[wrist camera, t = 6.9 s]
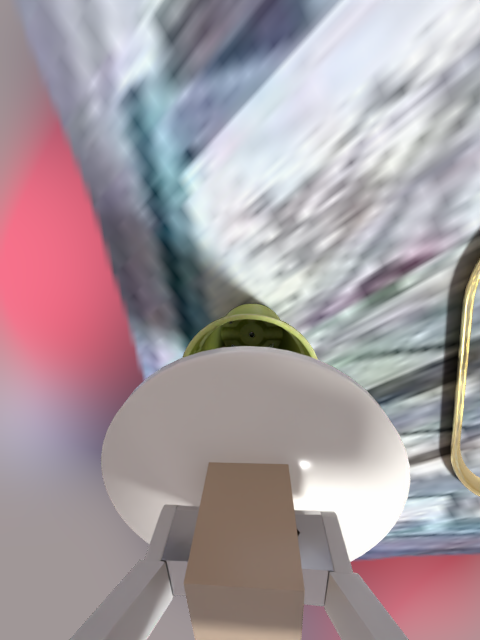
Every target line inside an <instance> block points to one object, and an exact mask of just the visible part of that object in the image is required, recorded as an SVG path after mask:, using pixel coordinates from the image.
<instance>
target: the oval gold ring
mask: <svg viewBox="0 0 480 640" xmlns="http://www.w3.org/2000/svg"><path fill="white" fill-rule="evenodd" d="M479 280H480V258H479V260H478V261H477V263H476V265H475V267H474V269H473V271H472V273H471V275H470V278H469V280H468V283H467V286H466V289H465V293H464V297H463V303H462V314H461V326H460V338H459V350H458V363H457V375H456V387H455V399H454V412H453V424H452V436H451V448H450V456H451V463H452V467H453V470H454V472H455V474H456V476H457V477H458V479H459V480H460V482H461V483H462V484H463V485H464V486H465V487H466V488H467V489H469V490H470V491H471V492H473V493H474V494H476V495H478V496H480V478H479V477H477V476H476V475H474V474H473V473H472V472H471V471H470V470H469V469H468V468H467V467H466V465H465V464H464V462H463V459H462V457H461V453H460V438H461V427H462V417H463V407H464V396H465V386H466V376H467V365H468V355H469V345H470V334H471V324H472V314H473V303H474V297H475V292H476V289H477V285H478V283H479ZM456 461H457V462H456Z"/></svg>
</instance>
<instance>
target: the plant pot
mask: <svg viewBox="0 0 480 640" xmlns="http://www.w3.org/2000/svg"><path fill="white" fill-rule="evenodd" d="M230 321H233V323H231V324H230V323H229V322H230ZM251 332H253V333H254V337H250V335H249V334H250V333H251ZM272 343H274V345H273V347H272V348H276V349H282V350H288V351H292V352H295V353H299V354H302V355H306V356H309V357H312V358H314V359H317V356H316V354H315V352H314V350H313V348H312V347H311V345H310V344H309V342H308V341H307V340H306V339H305V337H304V336H303V335H302V334H301V333H300V332H298V331H297V330H296V329H295V328H293V327H292V326H290V325H289V324H287V323H285V322H283V321H281V320H280V319H279V317H278V316H277V315H276V313H275V312H273V311H272V310H271V309H269V308H268V307H266V306H263V305H260V304H244V305H240V306H238V307H236V308H234V309H233V310H231V311H230V312H229V313H228V314H227V315H226V316H225V317H223V318H220V319H218V320H216V321H214V322H212V323H210V324H209V325H207V326H206V327H204V328H203V329H202V330H201V331H199V332H198V333H197V334H196V336H195V337H194V338H193V339H192V340H191V342H190V343H189V345H188V346H187V348H186V350H185V352H184V355H183V357H186V356H189V355H193V354H196V353H199V352H202V351H207V350H212V349H217V348H223V347H232V346H231V345H232V344H233V345H234V346H235V347H237V346H255V347H269V346H270V345H272ZM183 357H182V358H183ZM317 360H318V359H317Z"/></svg>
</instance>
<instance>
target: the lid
mask: <svg viewBox="0 0 480 640" xmlns="http://www.w3.org/2000/svg"><path fill="white" fill-rule="evenodd" d="M101 464H102V475H103V479H104V484H105V487H106V490H107V492H108V495H109V497H110V500H111V502H112V503H113V505H114V507H115V508H116V510H117V512H118V513H119V515H120V516H121V517H122V518H123V520H124V521H125V522H126V523H127V525H129V527H130V528H131V529H132V530H133V531H134V532H135V533H136V534H137V535H138V536H140V537H141V538H142V539H144V540H145V541H146V542H147V543H148V544H150V541H151V538H152V535H153V533H154V530H155V527H156V524H157V521H158V518H159V515H160V512H161V510H162V508H163V506H164V505H165V504H168V505H185V506H200V507H199V512H198V517H197V521H196V526H195V531H194V536H193V541H192V545H191V550H190V555H189V560H188V564H187V569H186V574H185V579H184V588H185V593H186V598H187V603H188V608H189V612H190V617H191V622H192V627H193V632H194V636H195V640H301V635H302V620H303V607H304V595H305V589H304V581H303V574H302V566H301V558H300V550H299V543H298V535H297V527H296V519H295V512H294V510H314V511H334V512H335V513H336V515H337V517H338V520H339V524H340V528H341V531H342V535H343V538H344V542H345V546H346V549H347V553H348V556H349V560H350V562H351V561H352V560H354V559H356V558H358V557H360V556H361V555H363V554H364V553H366V552H367V551H369V550H370V549H371V548H373V547H374V546H375V545H376V544H377V543H379V542H380V541H381V540H382V539H383V538H384V537H385V536H386V535H387V534H388V532H389V531H390V530H391V529H392V527H393V526H394V525H395V524H396V522H397V520H398V518H399V517H400V515H401V513H402V511H403V509H404V506H405V503H406V500H407V498H408V492H409V486H410V465H409V461H408V457H407V452H406V449H405V447H404V444H403V442H402V440H401V438H400V435H399V433H398V432H397V430H396V429H395V427H394V426H393V424H392V423H391V421H390V420H389V418H388V417H387V415H386V414H385V412H384V411H383V410H382V408H381V407H380V405H379V404H378V402H377V401H376V400H375V399H374V398H373V397H372V396H371V395H370V394H369V393H368V392H367V391H366V389H364V388H363V387H362V386H361V385H359V384H358V383H357V382H356V381H354V380H353V379H352V378H351V377H349V376H348V375H346V374H344V373H343V372H341V371H339V370H338V369H336V368H334V367H333V366H331V365H328V364H326V363H324V362H321V361H319V360H317V359H314V358H312V357H309V356H306V355H302V354H299V353H295V352H292V351H288V350H282V349H276V348H270V347H255V346H237V347H223V348H217V349H212V350H207V351H202V352H199V353H196V354H193V355H189V356H186V357H183V358H181V359H179V360H177V361H174V362H172V363H170V364H168V365H166V366H164V367H163V368H161V369H160V370H158V371H157V372H155V373H154V374H152V375H151V376H149V377H148V378H147V379H146V380H145V381H144V382H142V383H141V384H140V385H139V386H138V387H137V388H136V389H135V390H134V392H133V393H132V394H131V395H130V397H129V398H128V399H127V401H126V402H125V403H124V405H123V406H122V407H121V408H120V410H119V411H118V412H117V414H116V415H115V417H114V418H113V420H112V422H111V424H110V426H109V428H108V430H107V433H106V436H105V439H104V442H103V448H102V456H101Z"/></svg>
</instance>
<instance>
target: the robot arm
mask: <svg viewBox="0 0 480 640" xmlns="http://www.w3.org/2000/svg"><path fill="white" fill-rule="evenodd" d="M199 507H200V506H185V505H168V504H165V505H164V506H163V508H162V510H161V512H160V515H159V518H158V521H157V524H156V527H155V530H154V533H153V535H152V538H151V541H150V544H149V547H148V550H147V553H146V556H145V559H144V560H139V561H138V563H137V564H136V565H135V566H134V567H133V568H132V569H131V570H130V572H129V573H128V574H127V575H126V576H125V577H124V578H123V579H122V581H121V582H120V583H119V584H118V585H117V586H116V587H115V589H114V590H113V591H112V592H111V593H110V594H109V595H108V596H107V598H106V599H105V600H104V601H103V602H102V603H101V604H100V605H99V607H98V608H97V609H96V610H95V611H94V612H93V613H92V615H91V616H90V617H89V618H88V619H87V620H86V621H85V623H84V624H83V625H82V626H81V627H80V628H79V629H78V630H77V632H76V633H75V634H74V635H73V636H72V637H71V638H70V639H69V640H147V638H148V637H149V635H150V634H151V632H152V631H153V629H154V627H155V626H156V624H157V623H158V621H159V619H160V618H161V616H162V615H163V613H164V611H165V610H166V608H167V607H168V605H169V604H170V602H171V600H172V599H173V595H174V596H186V593H185V588H184V579H185V574H186V569H187V564H188V560H189V555H190V550H191V545H192V541H193V536H194V531H195V526H196V521H197V517H198V512H199ZM294 512H295V519H296V527H297V535H298V543H299V550H300V558H301V566H302V574H303V581H304V589H305V595H304V604H307V605H317V606H325V610H326V612H327V614H328V616H329V618H330V619H331V621H332V623H333V625H334V627H335V628H336V630H337V632H338V634H339V636H340V638H341V639H342V640H409V639H408V638H407V637H406V635H405V634H404V633H403V632H402V630H401V629H400V628H399V626H398V625H397V624H396V622H395V621H394V620H393V618H392V617H391V616H390V615H389V613H388V612H387V611H386V609H385V608H384V607H383V605H382V604H381V603H380V602H379V600H378V599H377V598H376V596H375V595H374V594H373V592H372V591H371V590H370V588H369V587H368V586H367V585H366V583H365V582H364V581H363V579H362V578H361V577H360V576H359V574H357V573H353V571H352V567H351V564H350V560H349V556H348V553H347V549H346V546H345V542H344V538H343V535H342V531H341V528H340V524H339V520H338V517H337V515H336V513H335V512H334V511H314V510H294Z"/></svg>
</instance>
